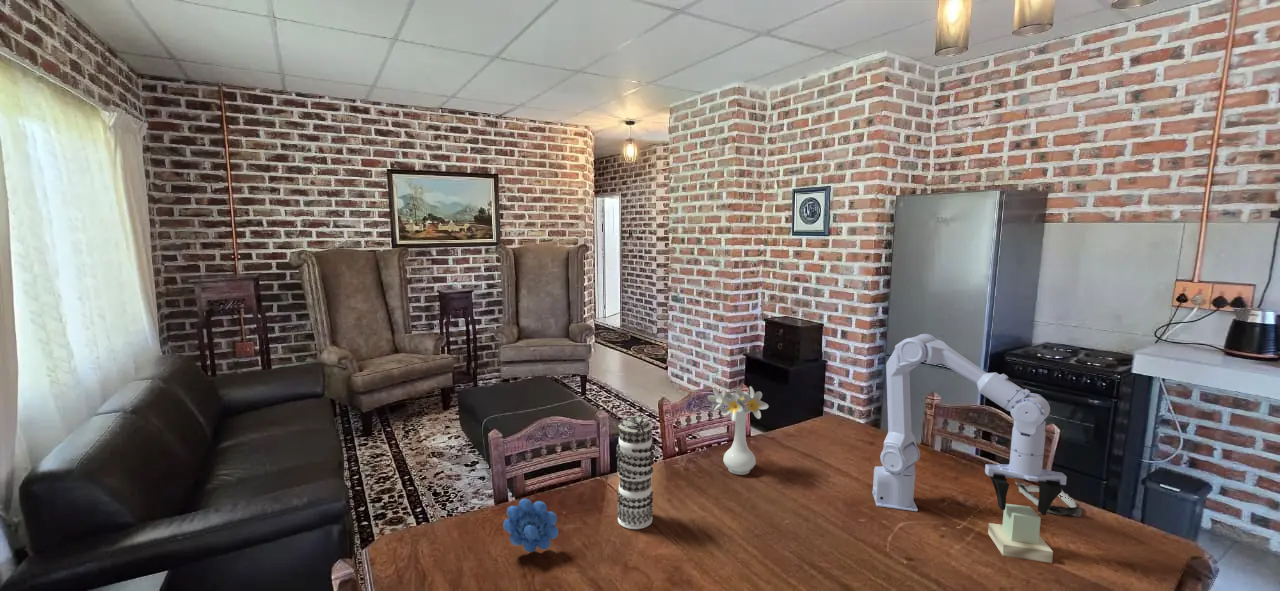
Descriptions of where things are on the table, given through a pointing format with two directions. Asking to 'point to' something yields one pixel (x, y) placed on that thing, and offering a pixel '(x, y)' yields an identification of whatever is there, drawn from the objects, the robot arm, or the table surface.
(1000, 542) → the cream block
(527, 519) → the blue flower
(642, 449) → the decorative candle
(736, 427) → the flower vase
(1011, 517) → the sage block
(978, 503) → the table surface
